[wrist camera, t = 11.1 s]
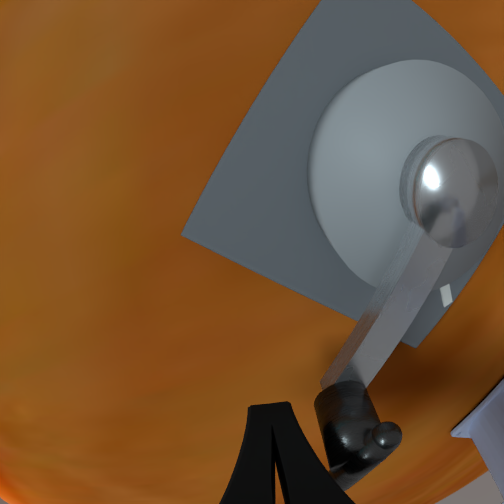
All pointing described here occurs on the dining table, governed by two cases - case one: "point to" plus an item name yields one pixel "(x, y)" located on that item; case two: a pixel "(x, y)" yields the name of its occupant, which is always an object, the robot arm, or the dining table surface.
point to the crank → (403, 295)
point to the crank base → (276, 146)
